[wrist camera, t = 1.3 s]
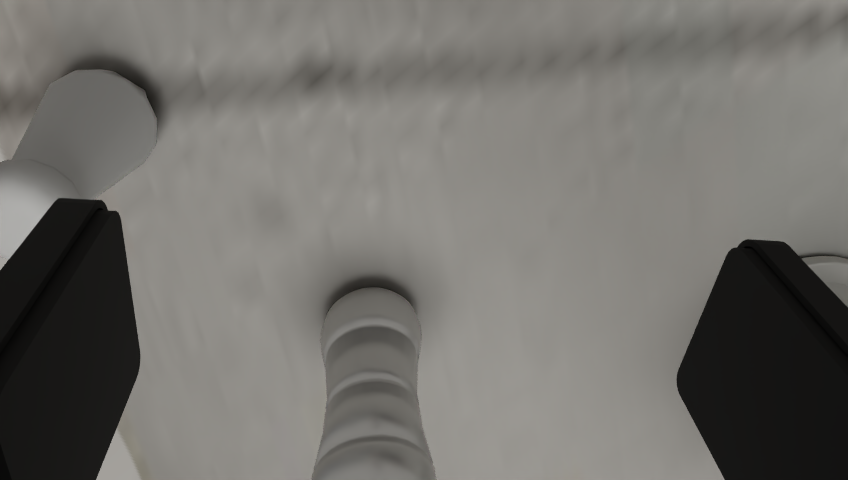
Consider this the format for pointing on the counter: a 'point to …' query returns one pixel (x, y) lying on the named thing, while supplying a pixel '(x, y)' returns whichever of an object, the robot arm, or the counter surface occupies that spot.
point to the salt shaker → (74, 148)
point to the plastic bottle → (372, 391)
